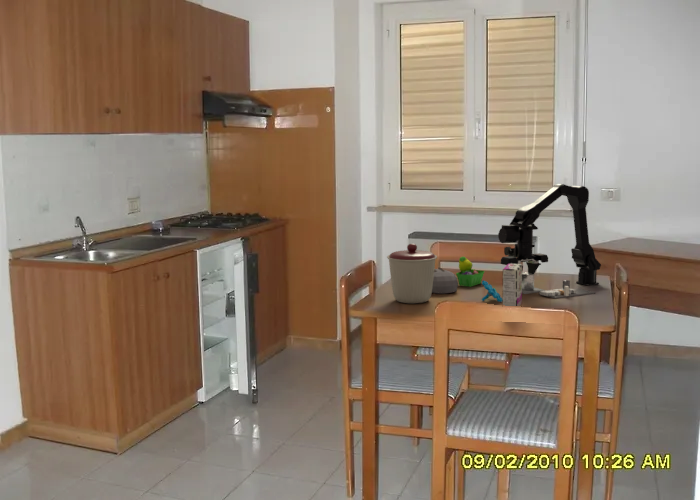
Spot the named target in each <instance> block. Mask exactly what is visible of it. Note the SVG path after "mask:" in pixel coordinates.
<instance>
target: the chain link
mask: <svg viewBox="0 0 700 500" xmlns="http://www.w3.org/2000/svg"><path fill="white" fill-rule="evenodd" d="M534 287H535V273H534V274H531V273H528V271H527V272H526V271H522V290H526V291H533V290H534Z"/></svg>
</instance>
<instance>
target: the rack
mask: <svg viewBox="0 0 700 500" xmlns="http://www.w3.org/2000/svg"><path fill="white" fill-rule="evenodd" d="M570 283H571V280H570V279H563V280H562V287H561V288H555V289H547V290H546V289H544V290H545V291H540V292H539V293H540V294H541V295H540V294H539V295H540V296H543V295H544V297H547V296H555V295H557V296H560V295H564V286H569V294H571V293H573V294H576V290H574V289H575V288H571V287H570V286H571V284H570Z"/></svg>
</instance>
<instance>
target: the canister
mask: <svg viewBox="0 0 700 500" xmlns="http://www.w3.org/2000/svg"><path fill="white" fill-rule="evenodd" d="M406 248H407V249H406V250H405V249H404V250H398V251H392V252H391V253H390V254H389V255H387V256H386V258H387V260H388V262H389V271H390V272H389V273H390V281H391V282H390V283H391V289H392V294H393V297H394V300H395V301H397V302H399V303H402V304H422V303H423V304H424V303H426V302H428V301H429V300H430V299H431V296H432V286H433V278H434V269H436V268H435V267H436V260H437V259H438V255H436V254H435V253H433V252H432V251H427V250H419V249H418V245H417V244H416V243H409V244H408V245H407V247H406Z"/></svg>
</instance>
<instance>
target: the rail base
mask: <svg viewBox="0 0 700 500" xmlns="http://www.w3.org/2000/svg"><path fill="white" fill-rule="evenodd" d="M573 289H574V290H576V294H573V293H571V294H569V286H564V295H560V296H557V295H555V296H546V297H548V298H551V299H562V298H570V297H571V298H572V297H579V296H586V295H594V294H596V292H595V291H591V290H587V289H583V288H577V287H576V288H573ZM538 295H540V296H544V295H541V294H540V292H538ZM544 297H545V296H544Z"/></svg>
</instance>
